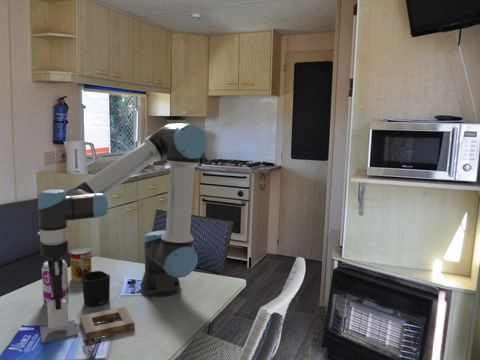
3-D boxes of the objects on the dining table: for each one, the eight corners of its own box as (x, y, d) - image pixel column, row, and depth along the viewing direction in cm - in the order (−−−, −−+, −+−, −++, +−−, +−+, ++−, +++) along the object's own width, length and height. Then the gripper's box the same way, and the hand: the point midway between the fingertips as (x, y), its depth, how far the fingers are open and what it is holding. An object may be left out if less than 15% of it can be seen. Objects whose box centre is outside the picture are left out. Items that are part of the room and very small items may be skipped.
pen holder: (80, 308, 141) (79, 281, 139) (86, 297, 150) (85, 271, 148) (108, 307, 142) (107, 279, 141) (112, 295, 151) (111, 270, 150)
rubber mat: (74, 321, 131) (74, 319, 131) (77, 335, 123) (77, 334, 122) (39, 328, 126) (39, 326, 126) (41, 343, 118) (41, 341, 118)
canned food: (87, 282, 164) (86, 253, 162) (68, 281, 164) (66, 253, 162) (94, 275, 171) (93, 247, 170) (76, 274, 172) (75, 247, 170)
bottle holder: (125, 313, 137) (125, 306, 137) (134, 330, 126) (134, 322, 126) (80, 322, 130) (80, 315, 130) (86, 341, 120) (85, 333, 119)
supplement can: (59, 308, 140) (57, 267, 138) (38, 306, 142) (36, 265, 140) (73, 298, 148) (71, 259, 146) (53, 296, 150) (51, 257, 148)
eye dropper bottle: (53, 322, 127) (51, 285, 125) (70, 323, 126) (69, 286, 124) (45, 329, 122) (43, 291, 121) (63, 330, 122) (61, 292, 120)
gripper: (39, 236, 126) (43, 307, 129) (41, 251, 112) (45, 330, 115) (65, 233, 130) (68, 302, 133) (70, 247, 115) (74, 324, 118)
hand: (58, 315), depth 124 cm, fingers closed on eye dropper bottle, 3 cm apart
